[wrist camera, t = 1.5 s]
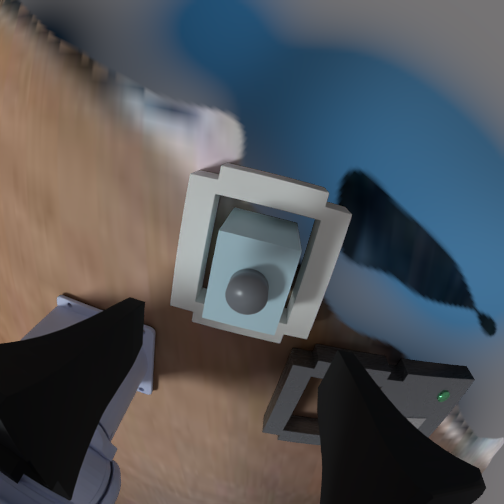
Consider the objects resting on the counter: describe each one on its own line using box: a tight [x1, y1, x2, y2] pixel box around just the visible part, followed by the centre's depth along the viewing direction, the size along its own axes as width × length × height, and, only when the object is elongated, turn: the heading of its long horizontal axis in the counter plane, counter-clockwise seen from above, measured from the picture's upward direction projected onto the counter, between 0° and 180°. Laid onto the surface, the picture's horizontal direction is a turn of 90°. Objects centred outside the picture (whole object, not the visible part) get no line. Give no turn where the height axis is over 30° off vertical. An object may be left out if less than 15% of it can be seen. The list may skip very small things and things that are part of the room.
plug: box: [202, 207, 302, 335], centre depth 17 cm, size 4×5×6 cm
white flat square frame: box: [170, 163, 352, 343], centre depth 19 cm, size 9×10×2 cm
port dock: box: [262, 344, 474, 445], centre depth 23 cm, size 17×10×2 cm, turn 77°
